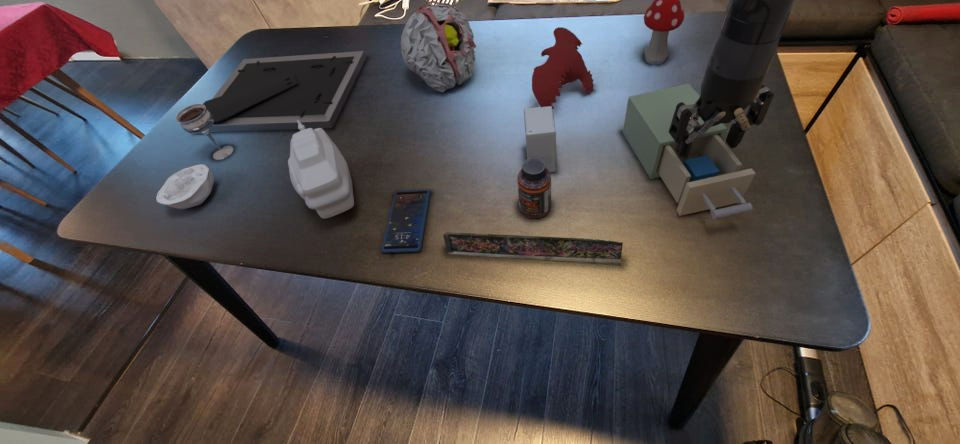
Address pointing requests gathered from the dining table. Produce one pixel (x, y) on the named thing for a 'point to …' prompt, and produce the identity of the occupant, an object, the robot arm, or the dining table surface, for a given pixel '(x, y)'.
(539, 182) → the supplement bottle
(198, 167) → the cell model
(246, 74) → the picture frame
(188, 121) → the wineglass
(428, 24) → the decorative sculpture
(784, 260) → the dining table surface
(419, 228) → the smartphone
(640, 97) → the drawer cabinet
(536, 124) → the small box
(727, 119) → the robot arm
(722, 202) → the beige drawer
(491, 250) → the incense holder
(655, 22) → the decorative mushroom
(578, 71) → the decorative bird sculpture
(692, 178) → the matte blue cube
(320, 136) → the white tiered sculpture
